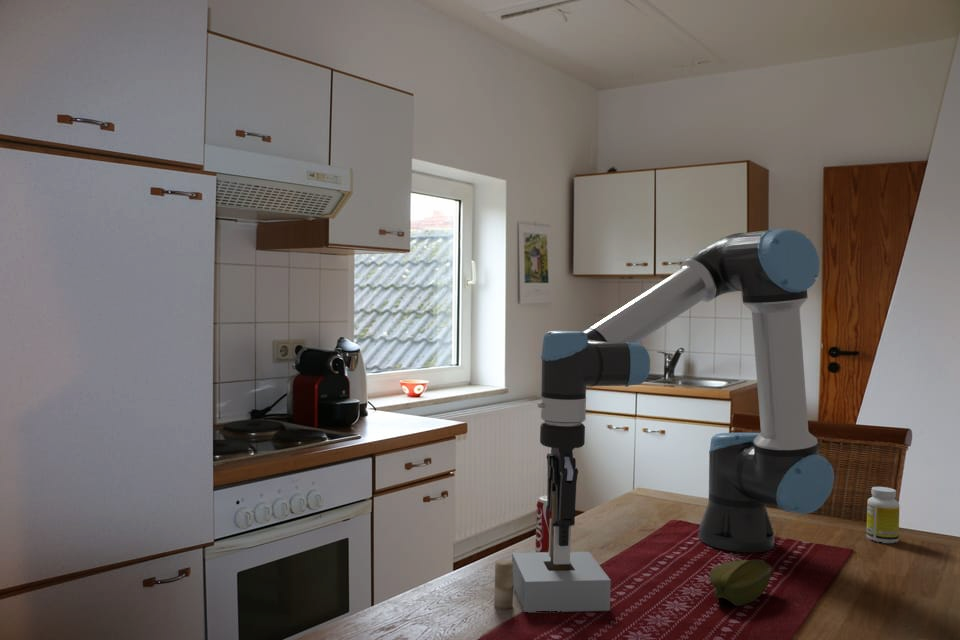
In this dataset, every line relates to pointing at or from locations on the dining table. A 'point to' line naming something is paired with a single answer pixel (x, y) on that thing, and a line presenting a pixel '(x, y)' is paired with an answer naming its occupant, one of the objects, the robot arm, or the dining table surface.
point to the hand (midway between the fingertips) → (559, 559)
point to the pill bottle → (883, 516)
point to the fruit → (741, 580)
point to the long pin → (553, 566)
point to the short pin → (503, 584)
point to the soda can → (542, 525)
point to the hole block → (560, 583)
